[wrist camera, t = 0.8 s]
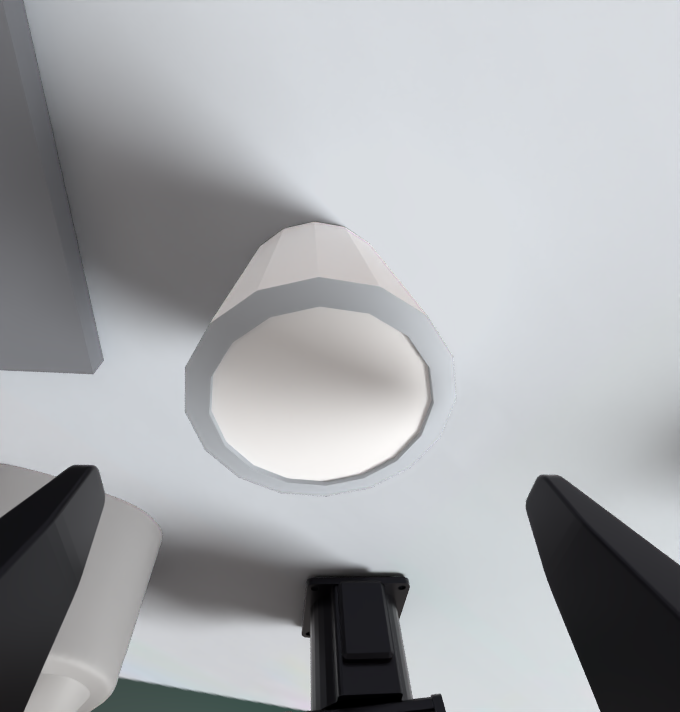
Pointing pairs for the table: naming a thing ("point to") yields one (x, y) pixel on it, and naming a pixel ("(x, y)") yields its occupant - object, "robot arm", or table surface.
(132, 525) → the lumpy-topped squat cylinder
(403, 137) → the table surface
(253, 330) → the shot glass
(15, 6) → the charcoal mat
